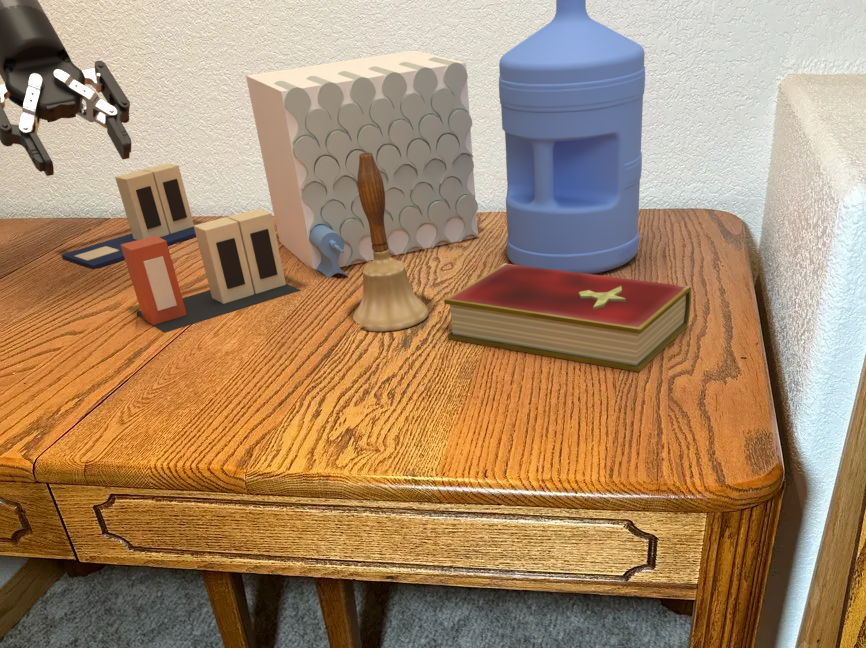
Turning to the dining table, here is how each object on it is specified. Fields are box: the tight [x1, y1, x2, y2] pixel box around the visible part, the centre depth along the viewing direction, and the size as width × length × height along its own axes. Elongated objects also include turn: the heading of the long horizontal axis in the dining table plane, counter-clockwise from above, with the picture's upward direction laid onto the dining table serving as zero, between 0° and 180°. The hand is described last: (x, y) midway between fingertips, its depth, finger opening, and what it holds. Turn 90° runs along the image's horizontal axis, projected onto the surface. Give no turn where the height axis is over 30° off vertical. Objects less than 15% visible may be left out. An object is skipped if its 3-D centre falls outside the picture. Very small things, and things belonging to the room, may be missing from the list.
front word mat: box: [136, 208, 301, 334], centre depth 102 cm, size 17×9×8 cm, turn 128°
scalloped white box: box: [245, 49, 480, 279], centre depth 111 cm, size 22×24×20 cm
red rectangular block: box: [121, 236, 187, 326], centre depth 99 cm, size 4×3×8 cm
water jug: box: [498, 0, 646, 275], centre depth 100 cm, size 16×16×28 cm
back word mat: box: [61, 162, 197, 270], centre depth 124 cm, size 18×9×8 cm, turn 137°
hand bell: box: [352, 153, 430, 333], centre depth 93 cm, size 8×8×16 cm
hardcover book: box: [443, 262, 692, 373], centre depth 90 cm, size 12×21×4 cm, turn 58°
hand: (89, 162), depth 99 cm, fingers open, 8 cm apart
